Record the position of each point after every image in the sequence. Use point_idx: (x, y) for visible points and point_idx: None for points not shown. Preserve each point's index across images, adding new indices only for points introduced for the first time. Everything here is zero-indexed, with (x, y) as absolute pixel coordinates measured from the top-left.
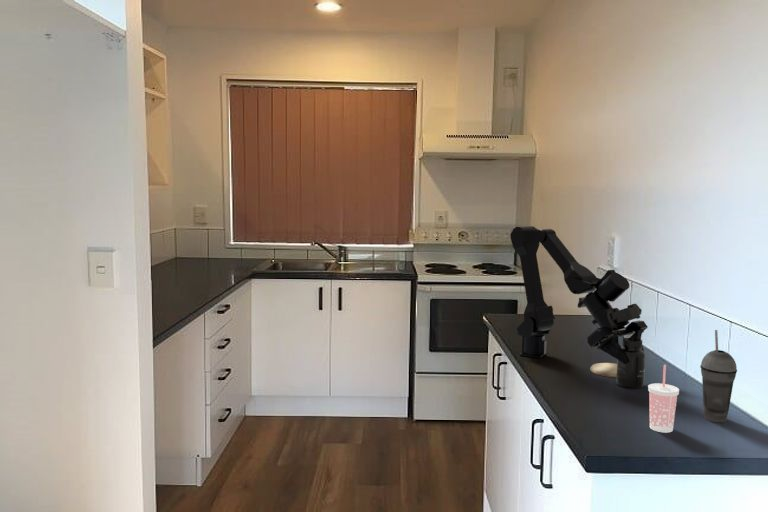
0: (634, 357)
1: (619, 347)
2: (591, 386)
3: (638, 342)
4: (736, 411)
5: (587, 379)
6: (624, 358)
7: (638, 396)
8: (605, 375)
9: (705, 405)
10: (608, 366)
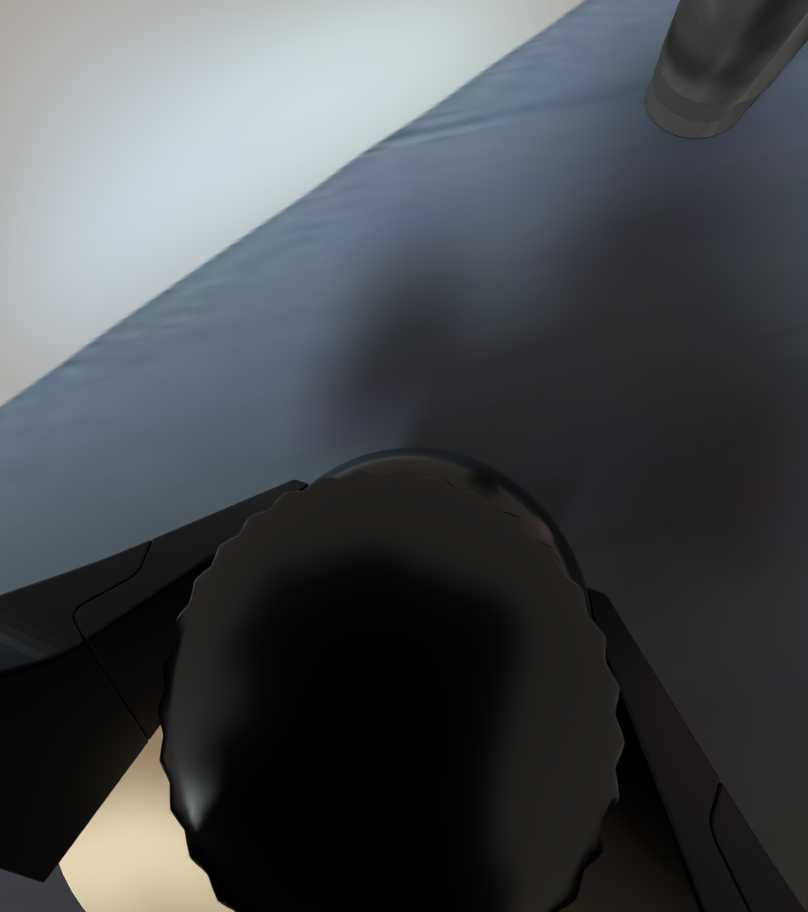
0: (563, 537)
1: (726, 849)
2: None
3: (507, 512)
4: (517, 67)
5: None
6: (633, 650)
7: (623, 465)
8: None
9: (805, 41)
10: (143, 818)
